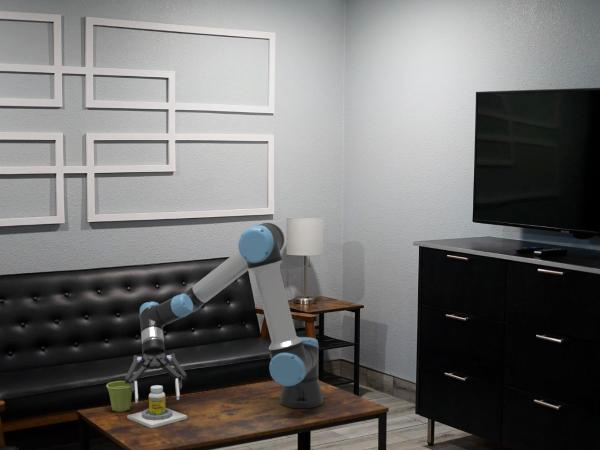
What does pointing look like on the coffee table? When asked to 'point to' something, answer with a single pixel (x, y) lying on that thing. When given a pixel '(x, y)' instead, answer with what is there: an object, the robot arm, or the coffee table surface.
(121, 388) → the plant pot
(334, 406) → the coffee table surface
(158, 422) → the socket
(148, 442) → the coffee table surface
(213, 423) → the coffee table surface
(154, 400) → the supplement bottle
